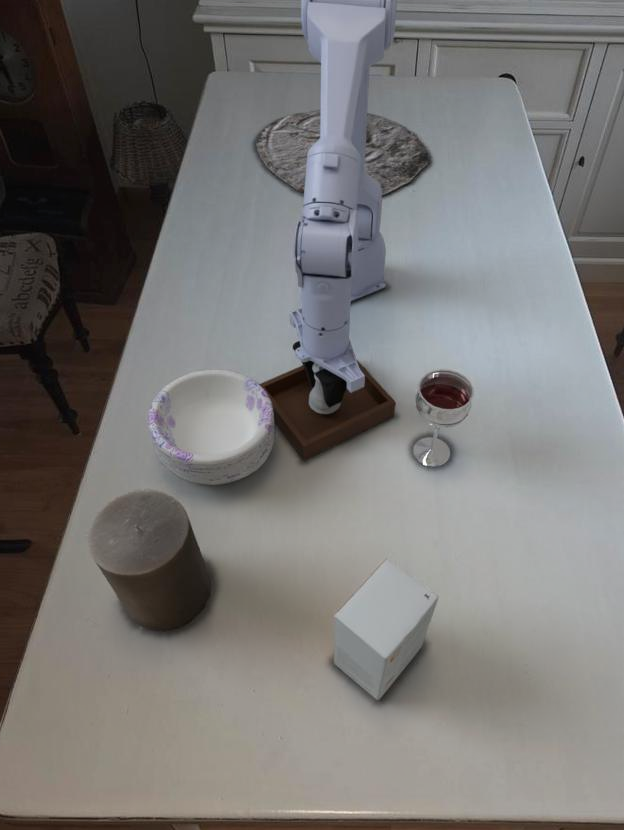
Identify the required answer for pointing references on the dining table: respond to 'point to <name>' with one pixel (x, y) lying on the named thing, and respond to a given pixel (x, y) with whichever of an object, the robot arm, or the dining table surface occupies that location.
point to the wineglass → (441, 411)
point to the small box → (382, 627)
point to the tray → (325, 430)
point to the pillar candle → (151, 559)
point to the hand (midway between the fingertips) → (325, 393)
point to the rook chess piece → (319, 396)
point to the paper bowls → (212, 426)
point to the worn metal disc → (384, 154)
